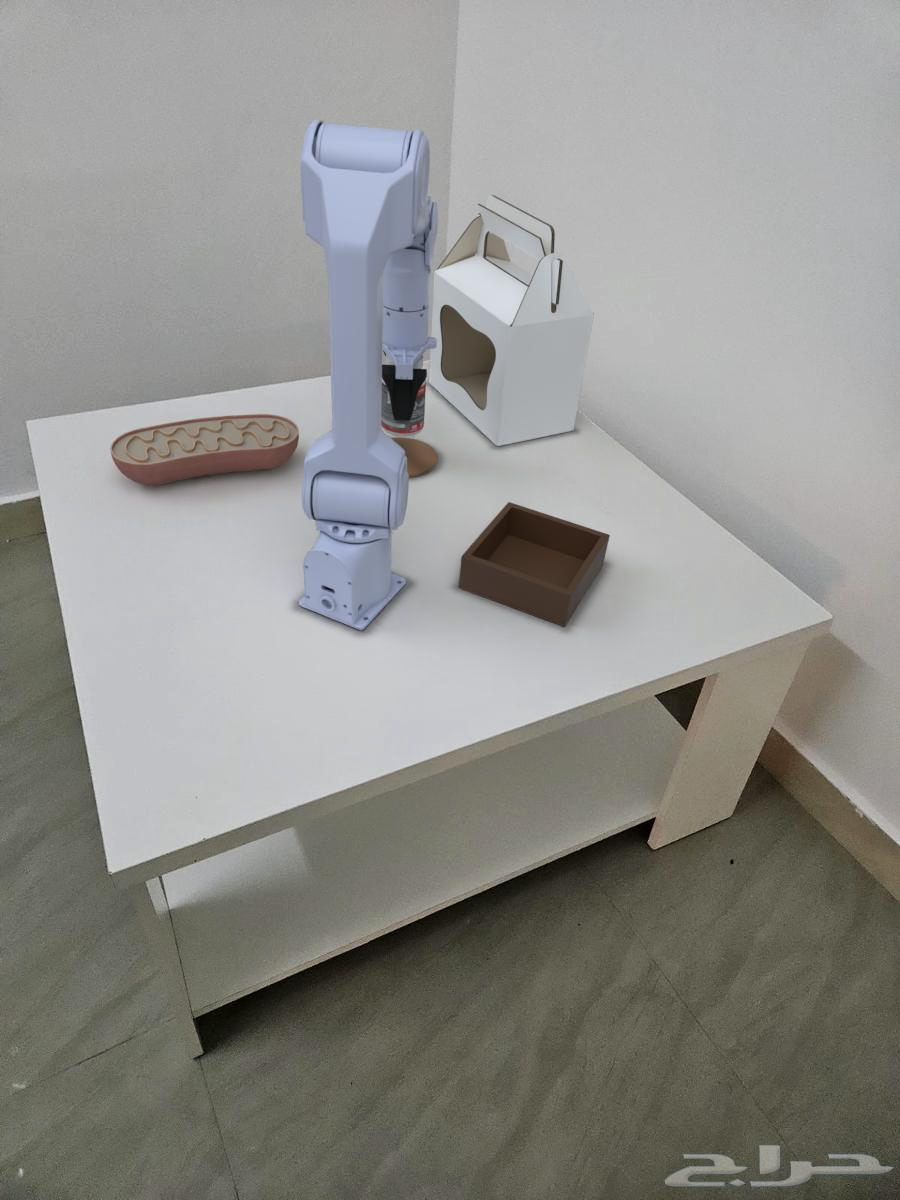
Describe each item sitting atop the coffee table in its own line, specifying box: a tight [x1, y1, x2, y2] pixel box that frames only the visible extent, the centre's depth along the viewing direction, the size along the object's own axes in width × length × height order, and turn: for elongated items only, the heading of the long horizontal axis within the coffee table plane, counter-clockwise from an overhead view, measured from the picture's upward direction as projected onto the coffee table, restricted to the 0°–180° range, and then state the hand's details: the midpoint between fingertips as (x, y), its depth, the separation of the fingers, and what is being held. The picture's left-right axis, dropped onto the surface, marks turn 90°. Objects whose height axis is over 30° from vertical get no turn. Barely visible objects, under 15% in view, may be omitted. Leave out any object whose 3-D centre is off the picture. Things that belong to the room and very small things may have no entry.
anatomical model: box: [109, 413, 300, 486], centre depth 104 cm, size 23×10×5 cm, turn 112°
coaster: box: [390, 437, 438, 479], centre depth 111 cm, size 10×10×1 cm
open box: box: [458, 501, 611, 628], centre depth 91 cm, size 13×13×4 cm
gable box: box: [428, 194, 595, 447], centre depth 116 cm, size 22×13×28 cm, turn 27°
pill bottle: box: [381, 354, 427, 438], centre depth 105 cm, size 6×6×10 cm
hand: (402, 407), depth 106 cm, fingers closed on pill bottle, 5 cm apart
